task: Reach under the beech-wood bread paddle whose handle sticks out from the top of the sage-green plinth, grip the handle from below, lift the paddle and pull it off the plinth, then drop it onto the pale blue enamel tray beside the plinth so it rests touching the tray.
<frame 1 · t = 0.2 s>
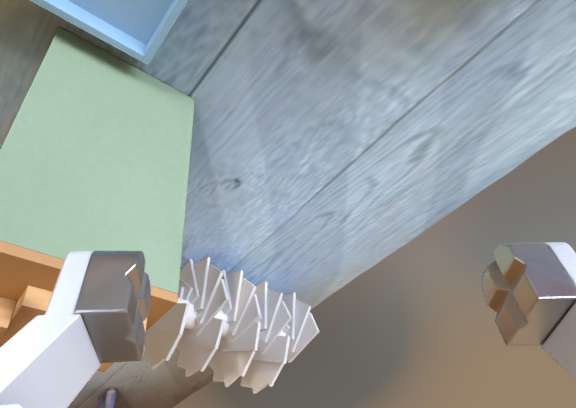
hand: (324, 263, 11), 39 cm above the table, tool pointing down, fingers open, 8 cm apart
spiral staircase: (229, 279, 82), on the table
plinth: (105, 109, 54), on the table
paddle: (11, 309, 36), point 26 cm above the table, touching plinth
flask: (108, 393, 116), on the table
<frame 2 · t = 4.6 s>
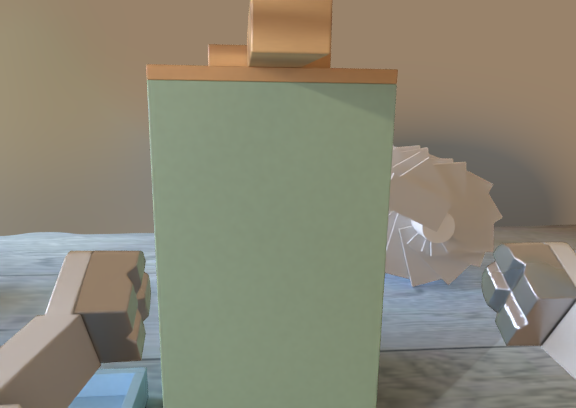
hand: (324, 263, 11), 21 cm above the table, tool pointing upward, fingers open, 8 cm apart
spiral staircase: (405, 264, 72), on the table
plinth: (266, 398, 40), on the table
paddle: (270, 71, 31), point 26 cm above the table, touching plinth
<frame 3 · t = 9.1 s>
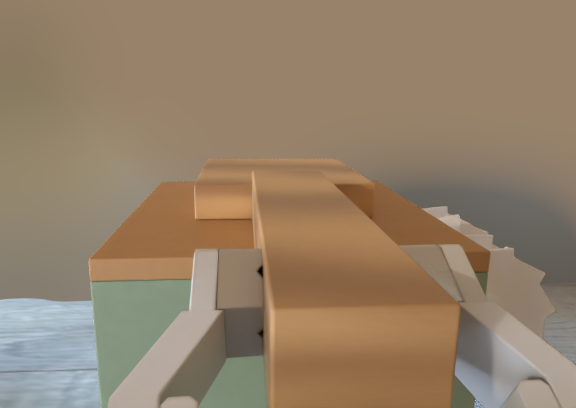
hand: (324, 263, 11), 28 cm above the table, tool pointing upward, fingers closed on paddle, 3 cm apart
spiral staircase: (432, 348, 62), on the table
paddle: (285, 219, 21), point 26 cm above the table, touching gripper, plinth
when the fingers open (15 cm above the table, at t = 20.5 s): paddle drops 13 cm, resting on tray.
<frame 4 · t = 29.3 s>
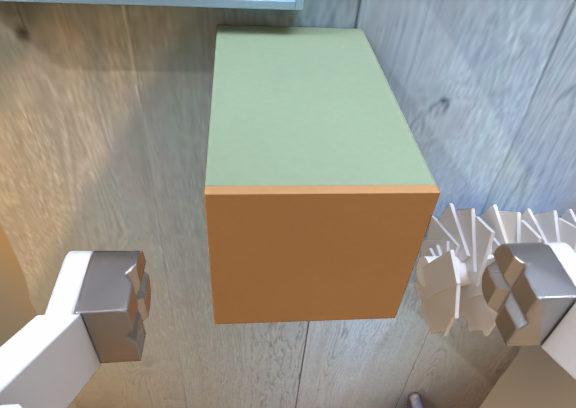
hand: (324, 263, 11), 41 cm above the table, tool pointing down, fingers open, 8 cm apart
spiral staircase: (484, 224, 72), on the table
plinth: (287, 88, 54), on the table
flask: (412, 400, 111), on the table
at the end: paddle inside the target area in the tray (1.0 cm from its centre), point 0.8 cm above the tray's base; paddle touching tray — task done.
